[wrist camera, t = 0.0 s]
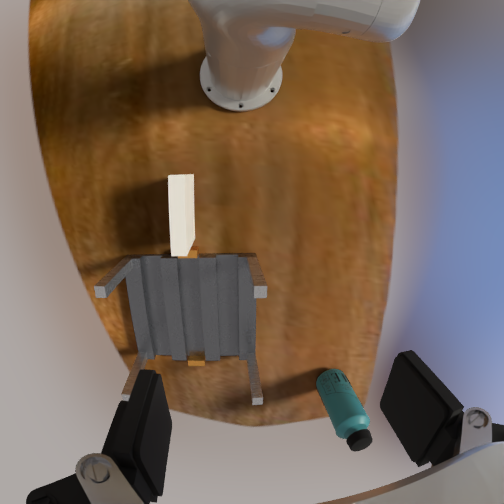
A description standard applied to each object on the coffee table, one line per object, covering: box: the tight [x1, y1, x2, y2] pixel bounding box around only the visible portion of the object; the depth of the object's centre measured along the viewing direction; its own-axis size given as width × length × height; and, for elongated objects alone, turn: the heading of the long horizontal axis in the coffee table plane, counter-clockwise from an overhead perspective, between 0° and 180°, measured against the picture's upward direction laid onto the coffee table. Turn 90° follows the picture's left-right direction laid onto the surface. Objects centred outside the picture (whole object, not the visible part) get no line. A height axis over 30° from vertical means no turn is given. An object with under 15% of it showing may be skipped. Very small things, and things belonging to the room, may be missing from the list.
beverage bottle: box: [316, 369, 372, 451], centre depth 46 cm, size 6×7×20 cm
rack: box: [94, 246, 267, 405], centre depth 42 cm, size 21×21×14 cm
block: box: [168, 174, 195, 256], centre depth 39 cm, size 10×2×10 cm, turn 0°
